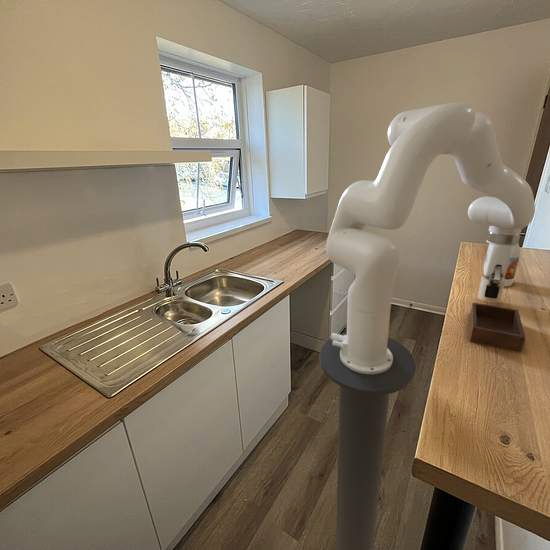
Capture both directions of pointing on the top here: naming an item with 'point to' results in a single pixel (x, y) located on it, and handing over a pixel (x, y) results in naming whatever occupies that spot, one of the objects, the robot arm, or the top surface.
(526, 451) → the top surface
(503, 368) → the top surface
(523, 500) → the top surface
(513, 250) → the milk bottle
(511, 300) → the top surface
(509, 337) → the wooden box
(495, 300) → the cream pot
